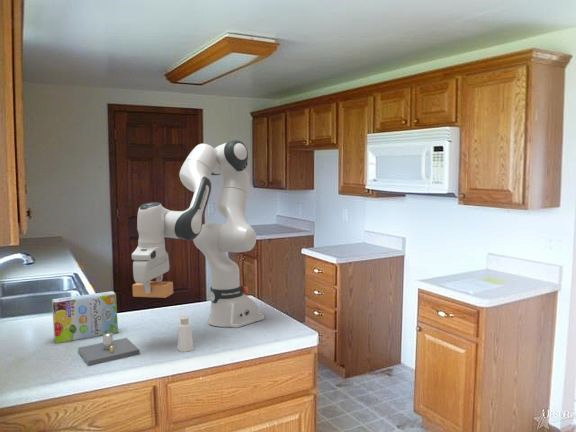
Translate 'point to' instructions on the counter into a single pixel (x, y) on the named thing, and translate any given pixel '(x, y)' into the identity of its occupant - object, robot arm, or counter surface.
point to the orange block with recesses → (153, 289)
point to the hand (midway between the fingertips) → (153, 290)
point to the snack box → (84, 316)
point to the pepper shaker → (185, 335)
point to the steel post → (107, 340)
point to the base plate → (107, 351)
